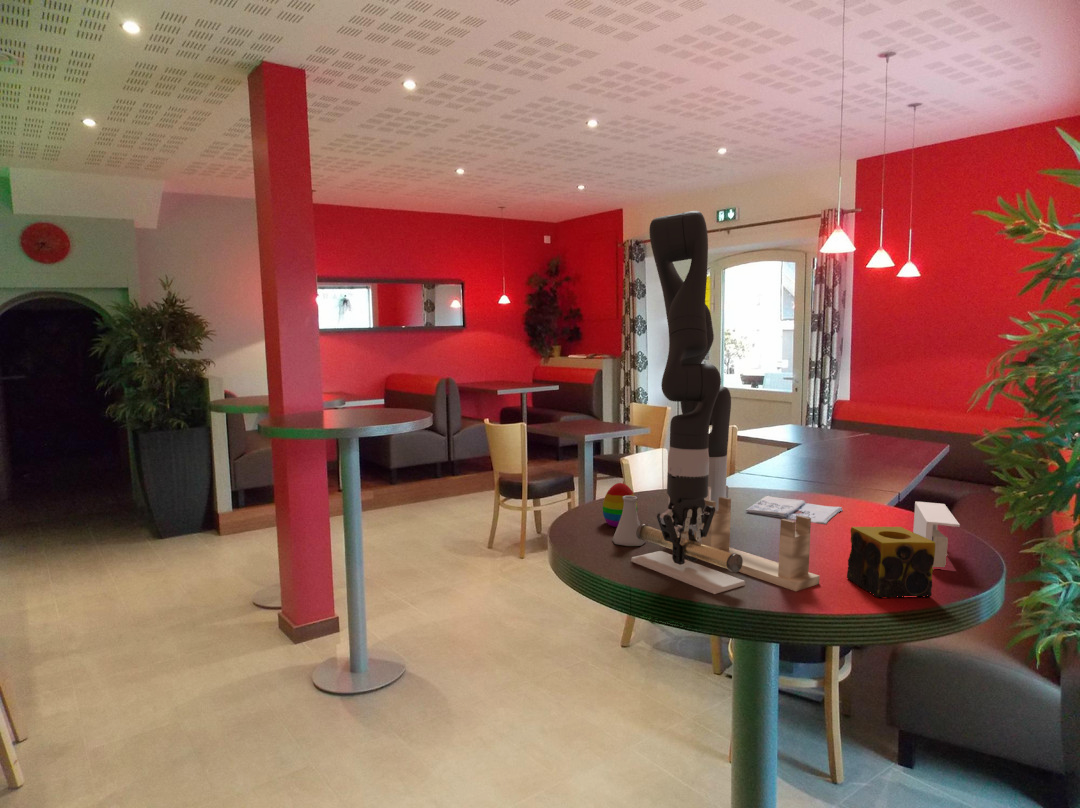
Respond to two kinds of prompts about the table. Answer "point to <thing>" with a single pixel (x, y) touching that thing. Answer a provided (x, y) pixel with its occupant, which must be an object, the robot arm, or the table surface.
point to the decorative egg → (615, 503)
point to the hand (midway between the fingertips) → (685, 561)
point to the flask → (628, 524)
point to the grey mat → (689, 572)
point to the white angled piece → (934, 527)
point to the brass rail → (693, 549)
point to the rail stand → (785, 573)
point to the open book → (793, 509)
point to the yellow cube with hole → (891, 561)
